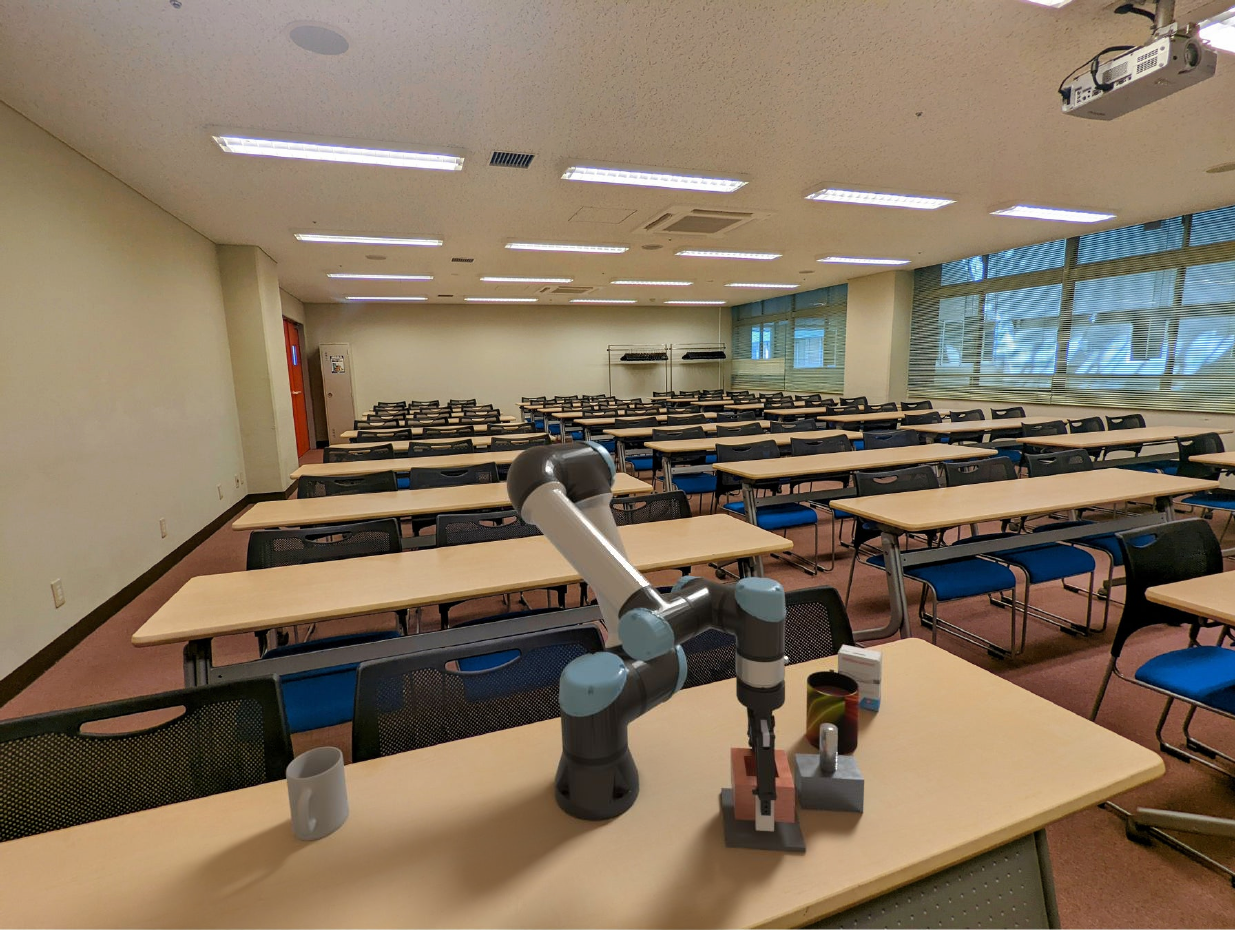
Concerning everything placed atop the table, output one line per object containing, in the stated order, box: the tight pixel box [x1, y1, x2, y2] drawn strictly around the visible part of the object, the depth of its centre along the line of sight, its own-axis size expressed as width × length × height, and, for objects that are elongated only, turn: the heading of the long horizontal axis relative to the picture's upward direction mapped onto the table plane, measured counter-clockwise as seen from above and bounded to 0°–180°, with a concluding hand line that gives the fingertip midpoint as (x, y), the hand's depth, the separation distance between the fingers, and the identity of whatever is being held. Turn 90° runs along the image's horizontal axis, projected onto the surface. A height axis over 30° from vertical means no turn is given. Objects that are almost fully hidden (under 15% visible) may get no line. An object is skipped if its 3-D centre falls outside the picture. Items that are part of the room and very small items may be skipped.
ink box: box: [837, 644, 883, 712], centre depth 125 cm, size 8×5×12 cm, turn 58°
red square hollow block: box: [730, 747, 796, 823], centre depth 92 cm, size 9×9×6 cm
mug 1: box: [285, 746, 350, 842], centre depth 93 cm, size 12×8×11 cm
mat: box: [720, 787, 807, 853], centre depth 93 cm, size 12×12×1 cm
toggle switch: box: [793, 723, 865, 814], centre depth 96 cm, size 10×6×13 cm, turn 83°
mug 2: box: [805, 669, 860, 756], centre depth 114 cm, size 10×14×12 cm
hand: (760, 805), depth 92 cm, fingers closed on red square hollow block, 9 cm apart
